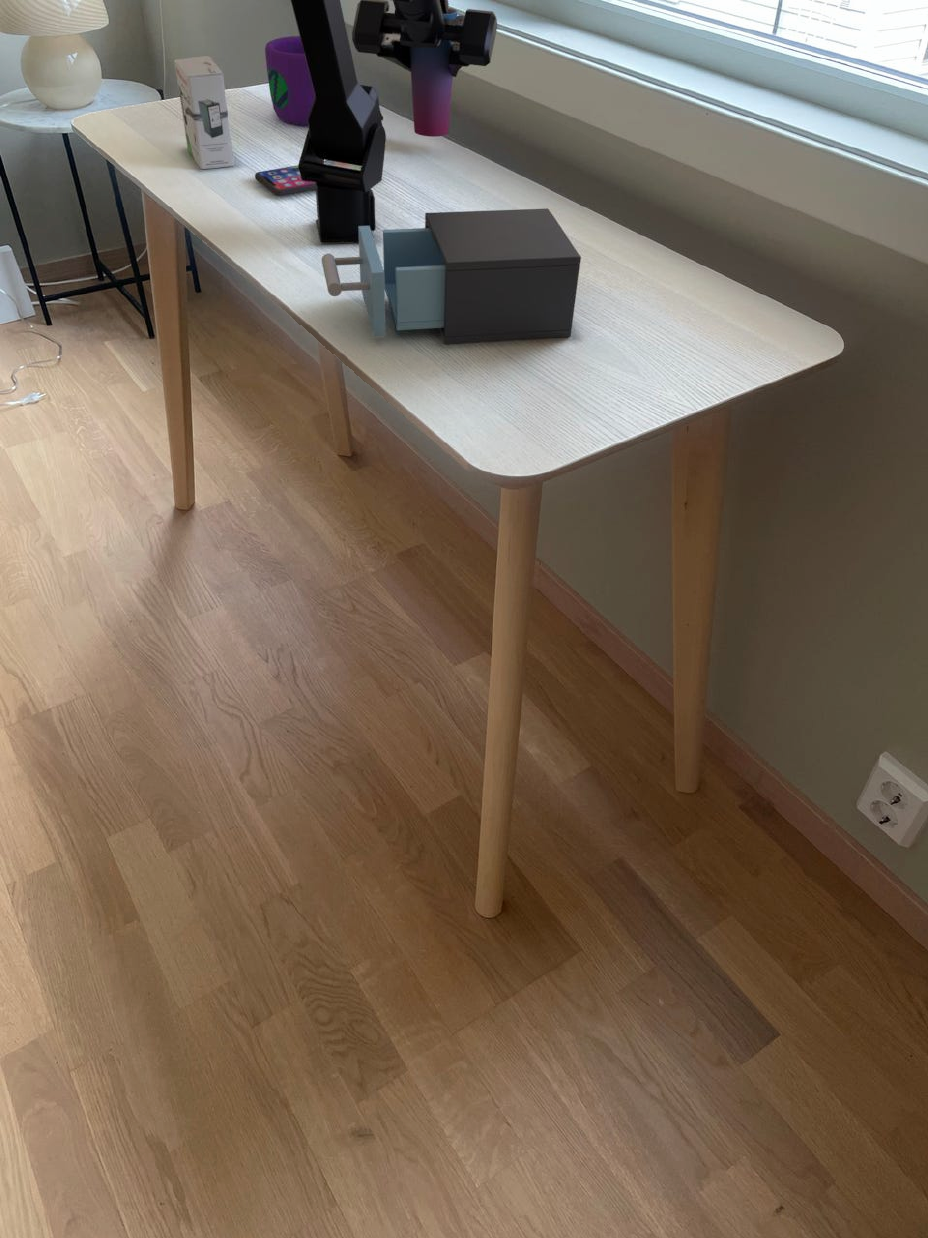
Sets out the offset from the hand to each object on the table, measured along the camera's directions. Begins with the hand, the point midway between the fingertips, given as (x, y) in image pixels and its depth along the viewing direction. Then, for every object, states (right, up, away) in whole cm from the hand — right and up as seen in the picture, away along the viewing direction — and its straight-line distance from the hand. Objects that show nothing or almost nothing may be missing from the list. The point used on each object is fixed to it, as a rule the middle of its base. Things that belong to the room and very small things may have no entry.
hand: (434, 70), depth 131 cm
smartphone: (-16, -17, -4) cm, 24 cm away
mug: (-18, 0, +14) cm, 23 cm away
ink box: (-32, -12, +1) cm, 34 cm away
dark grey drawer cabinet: (+8, -44, -30) cm, 54 cm away
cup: (-1, -7, +4) cm, 8 cm away
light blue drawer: (-2, -45, -32) cm, 55 cm away
